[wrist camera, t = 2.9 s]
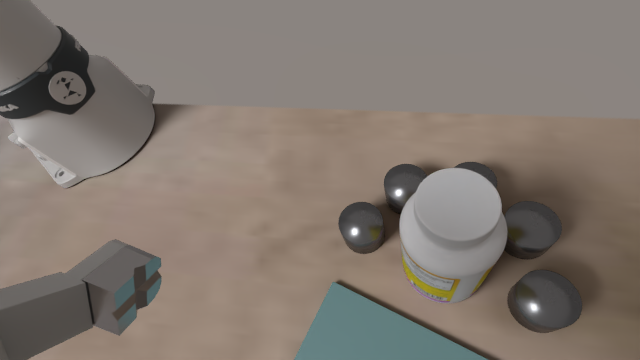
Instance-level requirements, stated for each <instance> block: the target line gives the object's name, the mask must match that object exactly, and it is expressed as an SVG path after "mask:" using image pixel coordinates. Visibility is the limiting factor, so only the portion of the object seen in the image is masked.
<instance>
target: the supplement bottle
mask: <svg viewBox="0 0 640 360" xmlns="http://www.w3.org/2000/svg"><path fill="white" fill-rule="evenodd" d="M399 227H400V239H401V250H402V261H403V267H404V272H405V274H406V277H407V279H408V281H409V283H410V284H411V285H412V287H413V288H414V289H415V290H416V291H417V292H418V293H419V294H421V295H422V296H424V297H426V298H427V299H430V300H432V301H435V302H439V303H456V302H460V301H463V300H465V299H467V298H468V297H470V296H471V295H472V294H474V293H475V291H476V290H477V289H478V288H479V287H480V285H481V284H482V282H483V281H484V279H485V278H486V276H487V275H488V274H489V272H490V271H491V269H492V268H493V266H494V265H495V263H496V262H497V261H498V259H499V258H500V256H501V254H502V253H503V251H504V248H505V245H506V241H507V224H506V220H505V217H504V215H503V213H502V203H501V198H500V195H499V193H498V191H497V190H496V188H495V187H494V186H493V184H492V183H491V182H490V181H488V180H487V179H486V178H485V177H483V176H482V175H480V174H478V173H476V172H474V171H471V170H468V169H463V168H447V169H442V170H439V171H436V172H434V173H432V174H430V175H429V176H427V177H426V178H425V179H424V180H423V181H422V182H421V183H420V185H419V187H418V188H417V191H416V192H415V193H414V194H413V195H412V196H411V197H410V198H409V200H408V201H407V202H406V204H405V206H404V208H403V210H402V213H401V216H400V225H399Z"/></svg>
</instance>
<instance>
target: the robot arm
mask: <svg viewBox="0 0 640 360" xmlns="http://www.w3.org/2000/svg"><path fill="white" fill-rule="evenodd" d="M153 97H154V90H153V89H152V88H151V87H150V86H148V85H137V84H135V83H133V82H132V81H131V80H130V79H129V78H128V77H127V76H126V75H125V74H124V73H123V72H122V71H121V70H120V69H119V68H118V67H117V66H116V65H115V64H114V63H112V61H110V60H109V59H108V58H107V57H101V56H97V55H96V56H94V55H88V53H87V51H86V50H85V49H84V48H83V47H82V46H81V45H80V44H79V42H78V41H77V40H76V39H75V38H74V37H73V36H72V35H70V34H69V33H68V32H67V31H65V30H64V29H63V28H62V27H60V26H55V25H54V24H53V23H52V22H51V21H50V20H49V19H48V18H47V17H46V16H45V15H44V14H43V13H42V12H41V11H40V10H39V9H38V8H37V7H36V6H35V5H34V4H33V3H32V2H31V1H30V0H0V115H1V116H3V117H5V118H7V119H8V121H9V123H10V125H11V127H12V129H13V131H14V132H13V133H11V134H10V135H9V136H8V139H9V140H11V141H12V142H13V143H15V144H16V145H18V146H20V147H21V148H26V147H28V148H29V149H30V150H31V151H32V153H33V154H34V155H35V156H36V158H37V159H38V160H39V161H40V163H41V164H42V165H43V166H44V168H45V169H46V170H47V171H48V173H49V174H50V175H51V177H52V178H53V179H54V180H55V182H56V183H57V184H59V185H60V186H61V187H63V188H68V187H70V186H72V185H74V184H76V183H78V182H80V181H82V180H83V179H86V178H89V177H93V176H98V175H101V174H104V173H107V172H109V171H111V170H113V169H115V168H117V167H118V166H120V165H121V164H123V163H124V162H126V161H127V160H128V159H130V158H131V157H132V156H133V155H134V154H135V153H136V152H137V151H138V150H139V149H140V148H141V147H142V145H143V144H144V143H145V141H146V140H147V138H148V137H149V135H150V133H151V131H152V128H153V125H154V120H155V113H154V109H153V106H152V101H153ZM160 267H161V258H159V257H156V256H154V255H152V254H149V253H147V252H145V251H142V250H140V249H138V248H135V247H133V246H131V245H128V244H126V243H124V242H121V241H119V240H116V239H115V240H112V241H109V242H108V243H106V244H105V245H103V246H102V247H101V248H99V249H98V250H97V251H95V252H94V253H93V254H91V255H90V256H88V257H87V258H86V259H84V260H83V261H82V262H80V263H79V264H78V265H76V266H75V267H73V268H72V269H71V270H69V271H68V272H67V273H65V274H64V273H62V272H59V273H55V274H52V275H48V276H45V277H41V278H38V279H34V280H31V281H27V282H24V283H20V284H16V285H13V286H9V287H6V288H2V289H0V360H27V359H29V358H31V357H33V356H35V355H37V354H39V353H41V352H43V351H45V350H47V349H49V348H51V347H53V346H55V345H58V344H60V343H62V342H64V341H66V340H68V339H70V338H72V337H74V336H76V335H78V334H80V333H82V332H84V331H86V330H88V329H90V328H92V327H93V325H94V326H96V327H99V328H101V329H104V330H106V331H109V332H111V333H114V334H116V335H119V336H120V335H121V333H122V332H123V331H124V330H125V329H126V328H127V327H128V326H129V325H130V324H131V323H132V322H133V321H134V320H135V319H136V317H137V310H138V309H140V308H143V307H145V306H148V304H149V303H150V302H151V301H152V300H153V299H154V298H155V296H156V294H157V292H158V291H159V289H160V285H161V275H160V274H159V272H158V269H159V268H160Z"/></svg>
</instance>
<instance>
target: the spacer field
mask: <svg viewBox="0 0 640 360" xmlns="http://www.w3.org/2000/svg"><path fill="white" fill-rule="evenodd" d="M454 168H463V169H468V170H471V171H474V172H476V173H478V174H480V175H482V176H483V177H485V178H486V179H487V180H488V181H490V182H491V183H492V184H493V186H494V187H495V188H496V186H497V179H496V176H495V174H494V173H493V172H492V170H491V169H489V168H488V167H487V166H485V165H483V164H480V163H477V162H465V163H461V164H459V165H457V166H455V167H454ZM426 177H427V175H426V174H425V172H424V171H423V170H422V169H421V168H419V167H417V166H415V165H411V164H401V165H398V166H395V167H393V168H392V169H390V170H389V171H388V173H387V174H386V176H385V179H384V187H385V195H386V201H387V204H388V206H389V207H390V208H391V209H392V210H393V211H395V212H396V213H399V214H401V213H402V210H403V208H404V206H405V204H406V202H407V201H408V200H409V198H410V197H411V196H412V195H413V194H414V193H415V192H416V191H417V188H418V187H419V185H420V183H421V182H422V181H423V180H424V179H425V178H426ZM504 217H505V220H506V224H507V241H506V245H505V248H504V250H505V251H506V252H508V253H509V254H511V255H512V256H515V257H517V258H521V259H534V258H537V257H539V256H541V255H542V254H543V253H544V252H546V251H547V250H548V249H549V248H550V247H551V246H552V245H553V244H554V243H555V242H556V241H557V240H558V239H559V237H560V235H561V231H562V226H561V222H560V220H559V218H558V216H557V215H556V214H555V213H554V212H553V211H552V210H551V209H550V208H549V207H547V206H545V205H543V204H540V203H537V202H532V201H523V202H519V203H516V204H514V205H513V206H511V207H510V208H509V209H508V211H507V212H506V214H505V216H504ZM339 229H340V231H341V234H342V236H343V238H344V240H345V242H346V244H347V246H348V247H349V248H350V249H351V250H353V251H355V252H357V253H361V254H367V253H371V252H374V251H375V250H377V249H378V248H379V247H380V246H381V245H382V243H383V241H384V238H385V230H384V225H383V219H382V215H381V213H380V211H379V210H378V209H377V208H376V207H375V206H374V205H372V204H370V203H366V202H357V203H353V204H351V205H349V206H347V207H346V208H345V209H344V210H343V211H342V213H341V215H340V217H339ZM508 306H509V309H510V312H511V314H512V315H513V317H514V318H515V319H516V320H517V321H518V322H519V323H520V324H521V325H522V326H524V327H525V328H527V329H529V330H531V331H534V332H539V333H548V332H552V331H555V330H558V329H561V328H564V327H567V326H569V325H571V324H573V323H574V322H575V321H577V319H578V318H579V316H580V314H581V311H582V302H581V298H580V295H579V293H578V291H577V290H576V288H575V287H574V285H573V284H572V283H571V282H570V281H569V280H567V279H566V278H565V277H563V276H561V275H560V274H557V273H555V272H552V271H548V270H535V271H531V272H529V273H527V274H526V275H525V276H523V277H522V278H521V279H520V280H519V281H518V282H517V283H516V284H515V285H514V286H513V287H512V288H511V289H510V291H509V294H508Z"/></svg>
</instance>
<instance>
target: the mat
mask: <svg viewBox="0 0 640 360" xmlns="http://www.w3.org/2000/svg"><path fill="white" fill-rule="evenodd" d="M294 360H488V359H486V358H484V357H482V356H480V355H478V354H476V353H474V352H472V351H470V350H468V349H466V348H464V347H462V346H460V345H458V344H456V343H454V342H452V341H450V340H448V339H446V338H444V337H442V336H440V335H438V334H436V333H434V332H432V331H430V330H428V329H426V328H424V327H422V326H420V325H418V324H416V323H414V322H412V321H410V320H408V319H406V318H404V317H402V316H401V315H399V314H397V313H395V312H393V311H391V310H389V309H387V308H385V307H383V306H381V305H379V304H377V303H375V302H373V301H371V300H369V299H367V298H365V297H363V296H361V295H359V294H357V293H355V292H353V291H351V290H349V289H347V288H345V287H343V286H341V285H339V284H337V283H335V282H333V283H332V285H331V287H330V289H329V291H328V293H327V295H326V297H325V299H324V301H323V303H322V305H321V307H320V309H319V311H318V313H317V315H316V317H315V319H314V321H313V323H312V325H311V327H310V329H309V331H308V333H307V335H306V337H305V339H304V341H303V343H302V345H301V347H300V349H299V351H298V353H297V355H296V357H295V359H294Z"/></svg>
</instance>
